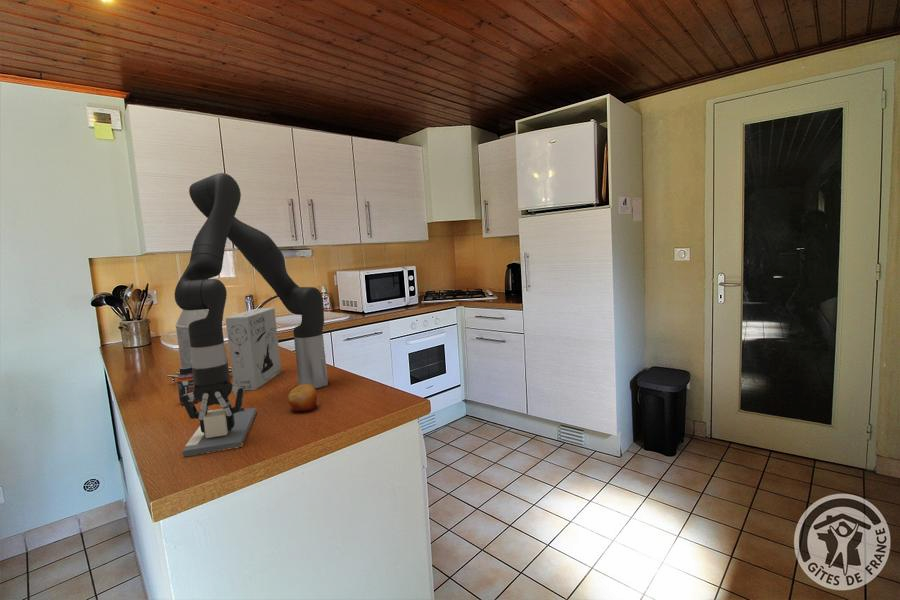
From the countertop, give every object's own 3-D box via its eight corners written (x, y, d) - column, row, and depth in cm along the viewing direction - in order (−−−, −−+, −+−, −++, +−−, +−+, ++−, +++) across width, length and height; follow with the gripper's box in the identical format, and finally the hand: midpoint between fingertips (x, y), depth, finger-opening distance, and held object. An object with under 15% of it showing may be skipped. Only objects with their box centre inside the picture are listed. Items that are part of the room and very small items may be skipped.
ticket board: (256, 412, 125) (255, 404, 125) (241, 447, 102) (240, 438, 102) (210, 419, 122) (209, 411, 122) (183, 457, 99) (182, 447, 99)
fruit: (327, 398, 130) (316, 379, 125) (315, 420, 124) (303, 401, 119) (304, 396, 133) (293, 378, 128) (291, 418, 127) (278, 400, 122)
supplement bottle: (191, 405, 135) (187, 369, 134) (175, 405, 136) (170, 369, 135) (206, 398, 141) (201, 364, 140) (190, 398, 142) (185, 364, 141)
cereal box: (256, 390, 147) (247, 316, 144) (233, 391, 147) (224, 317, 144) (281, 372, 168) (274, 307, 166) (262, 373, 169) (254, 308, 166)
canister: (214, 374, 171) (201, 272, 166) (230, 382, 159) (217, 272, 154) (176, 383, 162) (162, 275, 157) (191, 391, 150) (175, 275, 145)
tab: (231, 427, 110) (228, 407, 110) (226, 434, 105) (224, 414, 105) (211, 430, 109) (208, 410, 108) (205, 438, 104) (203, 417, 104)
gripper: (245, 355, 111) (252, 421, 113) (181, 363, 107) (190, 430, 109) (239, 362, 103) (247, 432, 105) (170, 370, 100) (180, 442, 102)
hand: (218, 431), depth 107 cm, fingers closed on tab, 4 cm apart
